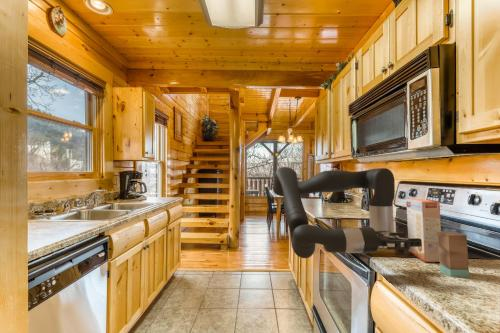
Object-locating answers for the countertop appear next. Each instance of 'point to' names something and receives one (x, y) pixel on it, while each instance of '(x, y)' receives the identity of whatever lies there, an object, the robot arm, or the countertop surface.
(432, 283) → the countertop surface
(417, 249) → the cracker box
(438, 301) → the countertop surface
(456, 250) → the walnut block
